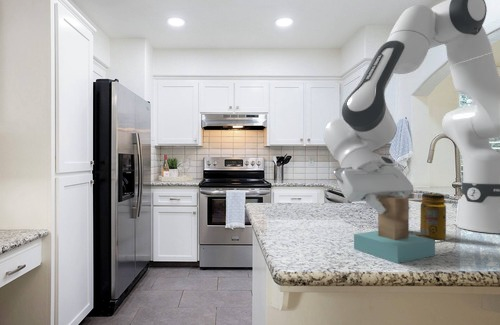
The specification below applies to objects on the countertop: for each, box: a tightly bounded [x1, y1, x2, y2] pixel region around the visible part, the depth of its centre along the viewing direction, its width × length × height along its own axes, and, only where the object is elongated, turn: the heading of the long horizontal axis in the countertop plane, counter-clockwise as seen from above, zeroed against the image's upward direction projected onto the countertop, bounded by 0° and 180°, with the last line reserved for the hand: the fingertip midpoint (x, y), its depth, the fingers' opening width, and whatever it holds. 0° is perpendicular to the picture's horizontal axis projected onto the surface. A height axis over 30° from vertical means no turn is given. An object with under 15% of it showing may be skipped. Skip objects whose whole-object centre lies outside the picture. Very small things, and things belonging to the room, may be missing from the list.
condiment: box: [415, 193, 453, 244], centre depth 86 cm, size 7×8×12 cm
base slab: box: [353, 230, 436, 264], centre depth 72 cm, size 12×12×4 cm
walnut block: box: [377, 196, 410, 240], centre depth 72 cm, size 4×4×9 cm
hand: (395, 211), depth 72 cm, fingers open, 6 cm apart
